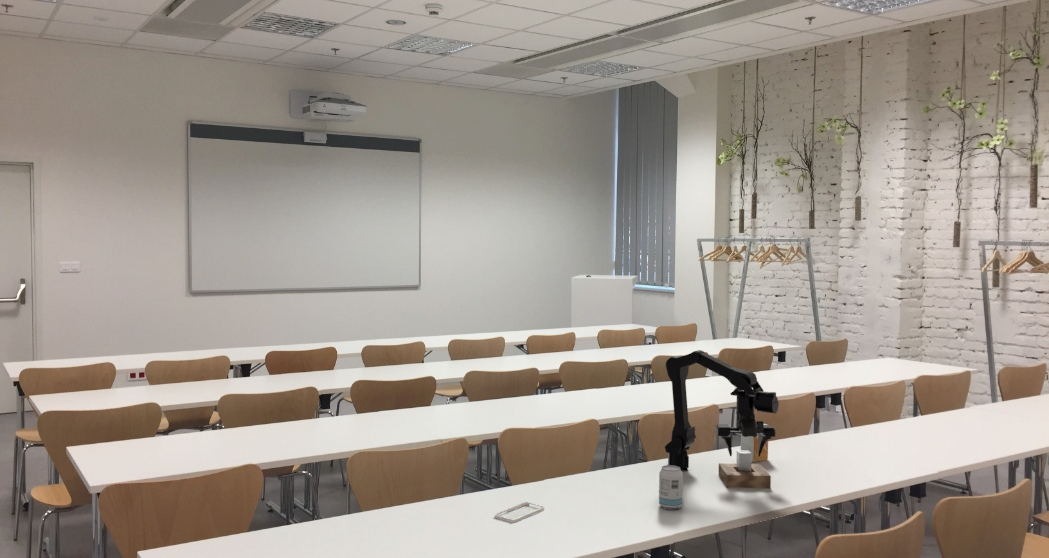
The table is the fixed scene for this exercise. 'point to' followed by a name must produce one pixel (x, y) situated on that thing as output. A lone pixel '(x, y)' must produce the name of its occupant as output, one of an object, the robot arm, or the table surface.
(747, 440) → the small box
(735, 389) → the robot arm
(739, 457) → the grey metal peg
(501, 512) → the phone case
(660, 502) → the beverage can
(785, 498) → the table surface
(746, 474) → the walnut socket block
